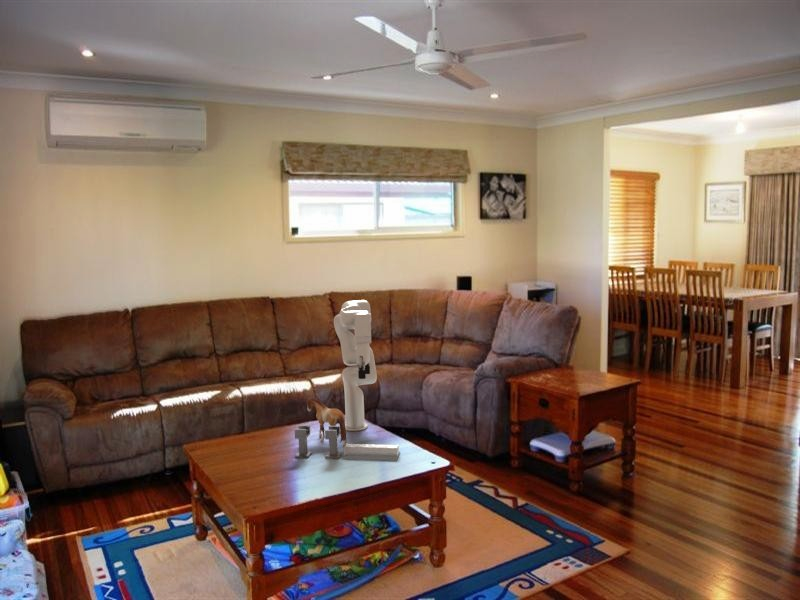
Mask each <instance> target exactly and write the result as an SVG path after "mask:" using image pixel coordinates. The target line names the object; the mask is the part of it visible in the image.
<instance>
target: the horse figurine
mask: <svg viewBox="0 0 800 600" xmlns="http://www.w3.org/2000/svg"><path fill="white" fill-rule="evenodd" d="M305 399H306V405H307V407H306V408H307V411H308V412H312V409H313V408H314V407H315V410H316V415H315V417H316V420H317V421H318V423H319V430H318V432H319V433H318V434H319V435H318V438H320V442H324V441H325V426H324V425H325V423H328V425H329V426H337V425H339V426H340V441H339V443H342V442H343V441H344V442H343V445H342V446H343V447H344V446H345V445H346V444H348V440H347V435H348V434H347V432H348V431H347V430H346V426H345V424H346V416H345V414H344V413H343V411H342V410H340V409H338V408H329V407H327V406H326V405H325V404H324V403H323V402H322V401H320V400H319V399H318V398H316V397H311V396H310V397H309V396H307V397H305Z"/></svg>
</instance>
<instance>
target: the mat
mask: <svg viewBox="0 0 800 600" xmlns="http://www.w3.org/2000/svg"><path fill="white" fill-rule="evenodd" d="M400 454H401V451H399V454H398V457H385V456H349V455H343V456H342V460H361V461H362V460H365V461H366V460H367V461H392V460H393V461H397V460H398V458H399V456H400Z"/></svg>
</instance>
